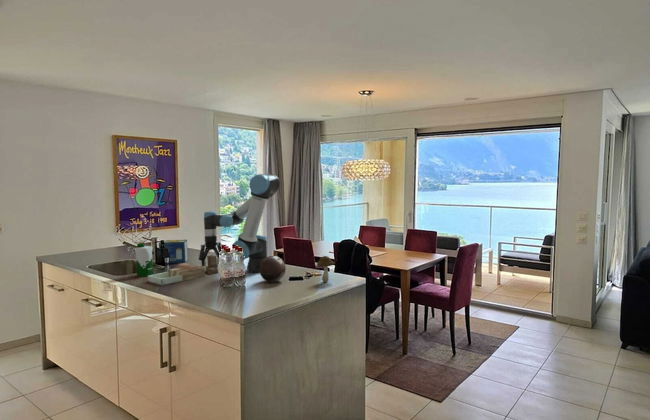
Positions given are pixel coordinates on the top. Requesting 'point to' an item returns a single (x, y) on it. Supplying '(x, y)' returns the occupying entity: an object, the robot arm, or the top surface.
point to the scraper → (211, 265)
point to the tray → (164, 278)
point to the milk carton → (144, 260)
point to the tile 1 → (192, 267)
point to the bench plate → (187, 273)
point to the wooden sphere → (272, 269)
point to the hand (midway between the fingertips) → (211, 269)
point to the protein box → (177, 250)
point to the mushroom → (325, 266)
